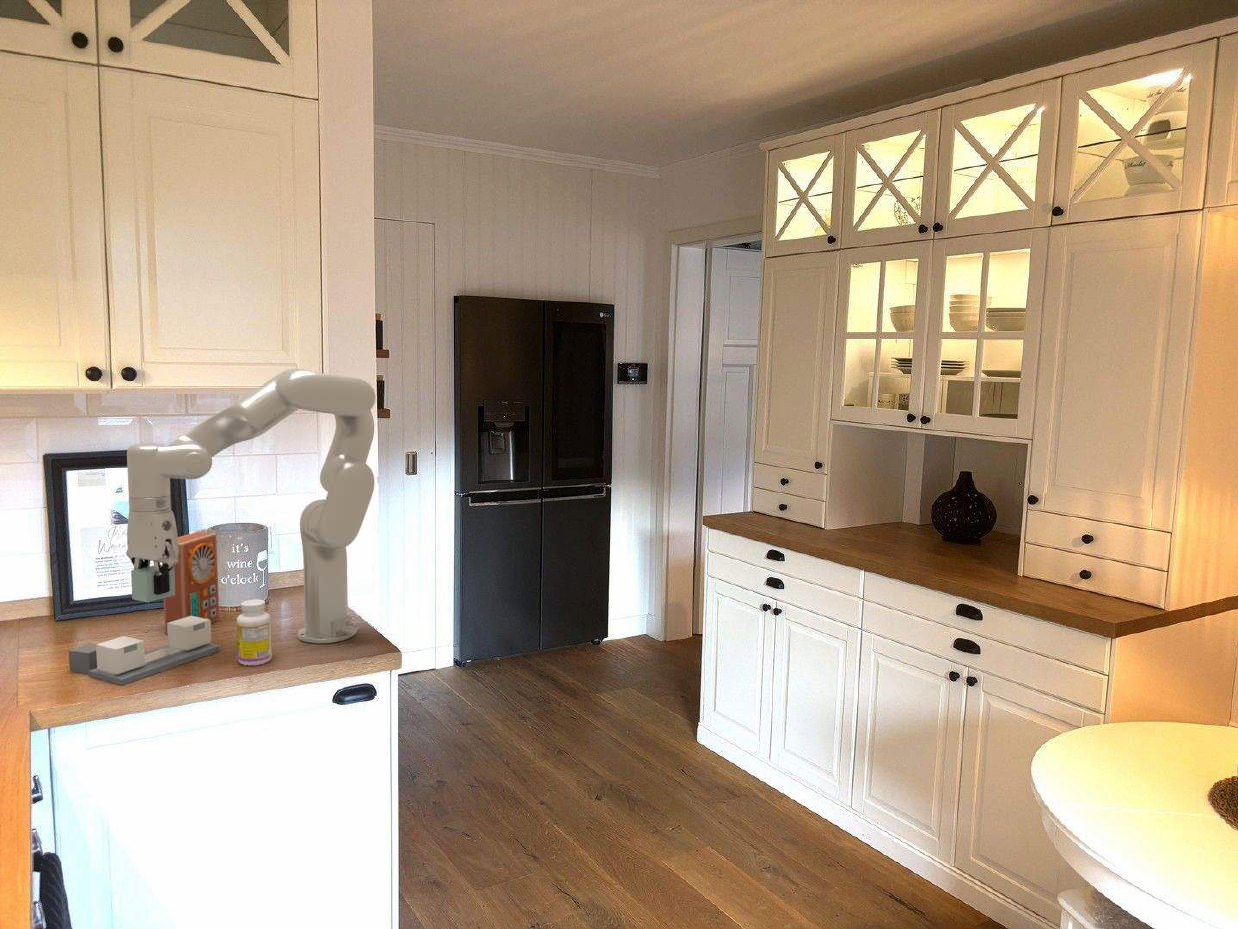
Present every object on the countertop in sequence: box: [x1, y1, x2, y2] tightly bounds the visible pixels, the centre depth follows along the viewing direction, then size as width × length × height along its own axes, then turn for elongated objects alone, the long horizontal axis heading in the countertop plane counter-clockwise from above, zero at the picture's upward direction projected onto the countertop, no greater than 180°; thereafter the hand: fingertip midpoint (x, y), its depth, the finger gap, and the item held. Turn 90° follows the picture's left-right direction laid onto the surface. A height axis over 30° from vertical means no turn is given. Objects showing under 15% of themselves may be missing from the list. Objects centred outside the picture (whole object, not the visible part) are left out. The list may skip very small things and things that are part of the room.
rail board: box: [88, 642, 221, 686], centre depth 186 cm, size 10×23×1 cm, turn 155°
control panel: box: [161, 531, 221, 634], centre depth 209 cm, size 21×7×15 cm
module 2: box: [130, 563, 175, 603], centre depth 184 cm, size 4×6×6 cm
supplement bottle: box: [236, 598, 273, 666], centre depth 188 cm, size 7×7×13 cm
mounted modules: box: [95, 616, 212, 674], centre depth 186 cm, size 6×22×5 cm, turn 155°
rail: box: [100, 643, 209, 676], centre depth 186 cm, size 4×22×1 cm, turn 155°
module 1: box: [68, 642, 97, 675], centre depth 182 cm, size 5×5×4 cm
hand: (153, 590), depth 184 cm, fingers closed on module 2, 4 cm apart
